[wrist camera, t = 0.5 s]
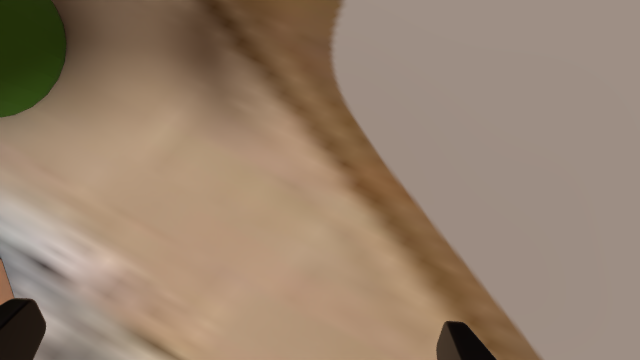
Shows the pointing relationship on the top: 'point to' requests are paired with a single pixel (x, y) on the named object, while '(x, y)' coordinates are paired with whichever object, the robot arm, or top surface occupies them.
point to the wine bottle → (29, 53)
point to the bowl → (4, 286)
